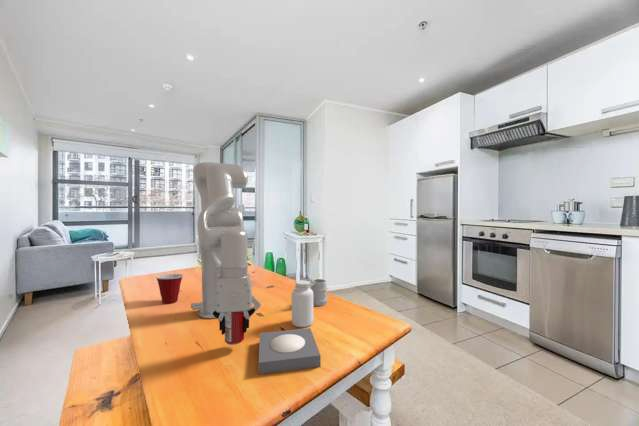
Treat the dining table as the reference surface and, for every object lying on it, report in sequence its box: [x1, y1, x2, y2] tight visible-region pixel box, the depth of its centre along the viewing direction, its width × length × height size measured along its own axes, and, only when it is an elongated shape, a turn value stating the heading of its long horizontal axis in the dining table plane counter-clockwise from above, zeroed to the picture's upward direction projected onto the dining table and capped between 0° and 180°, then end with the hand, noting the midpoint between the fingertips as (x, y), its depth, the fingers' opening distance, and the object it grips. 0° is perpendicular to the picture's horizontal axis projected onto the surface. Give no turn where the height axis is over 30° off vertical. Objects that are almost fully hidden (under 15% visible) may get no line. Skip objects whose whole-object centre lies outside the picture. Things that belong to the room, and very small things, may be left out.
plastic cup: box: [155, 273, 184, 305], centre depth 118 cm, size 11×11×12 cm
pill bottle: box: [291, 279, 314, 328], centre depth 96 cm, size 8×8×15 cm
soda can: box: [224, 311, 245, 346], centre depth 79 cm, size 6×6×12 cm
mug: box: [306, 278, 329, 307], centre depth 114 cm, size 8×12×12 cm, turn 132°
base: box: [258, 327, 322, 375], centre depth 76 cm, size 16×16×3 cm
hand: (234, 330), depth 79 cm, fingers closed on soda can, 5 cm apart
